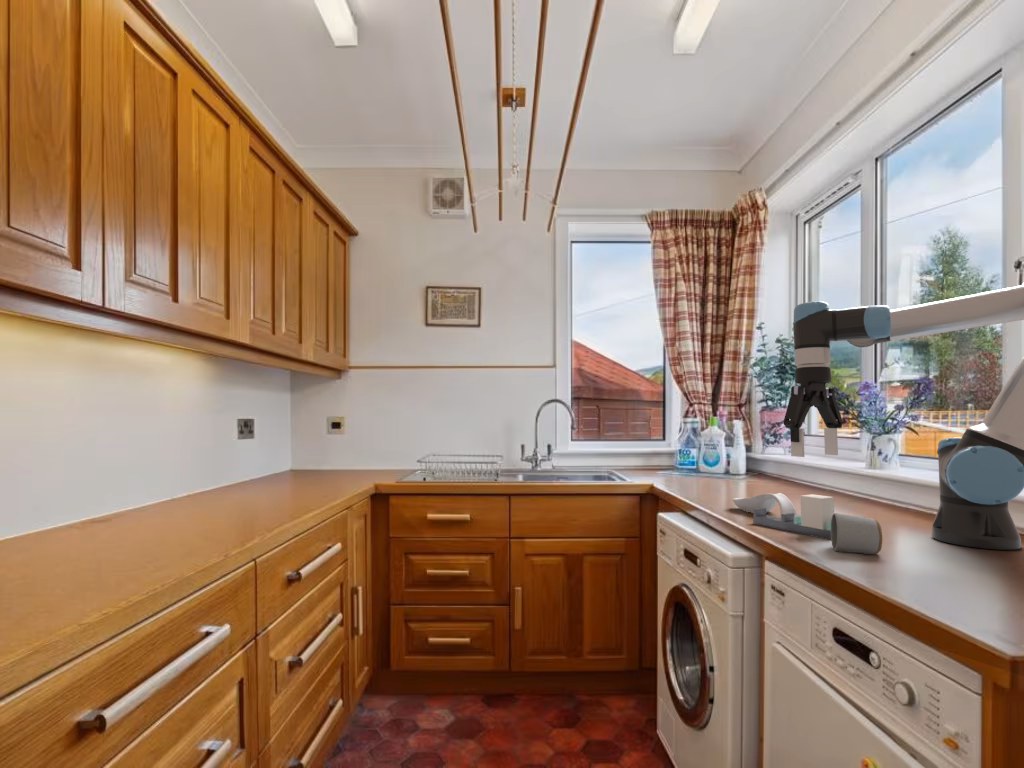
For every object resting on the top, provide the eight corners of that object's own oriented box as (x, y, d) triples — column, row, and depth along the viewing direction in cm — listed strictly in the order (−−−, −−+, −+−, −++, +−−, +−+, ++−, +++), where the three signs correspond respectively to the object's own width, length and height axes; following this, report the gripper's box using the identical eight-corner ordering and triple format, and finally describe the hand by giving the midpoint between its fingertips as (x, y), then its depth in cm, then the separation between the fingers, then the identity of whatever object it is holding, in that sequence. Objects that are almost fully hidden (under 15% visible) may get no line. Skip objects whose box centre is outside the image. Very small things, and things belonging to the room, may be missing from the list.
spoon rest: (725, 508, 161) (725, 485, 162) (762, 508, 162) (761, 484, 163) (770, 524, 138) (769, 496, 138) (812, 524, 139) (812, 496, 139)
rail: (841, 537, 122) (840, 521, 122) (831, 539, 120) (830, 522, 120) (762, 522, 140) (762, 507, 140) (753, 523, 138) (752, 508, 138)
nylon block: (834, 527, 124) (833, 497, 124) (822, 529, 121) (821, 498, 122) (813, 523, 128) (812, 494, 129) (801, 525, 126) (800, 495, 126)
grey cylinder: (885, 558, 104) (883, 519, 105) (837, 554, 107) (836, 515, 108) (870, 547, 114) (868, 511, 115) (826, 543, 117) (825, 508, 118)
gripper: (826, 370, 137) (829, 453, 136) (765, 365, 125) (767, 456, 123) (857, 368, 130) (860, 455, 129) (795, 362, 118) (798, 458, 117)
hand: (815, 455), depth 126 cm, fingers open, 13 cm apart
